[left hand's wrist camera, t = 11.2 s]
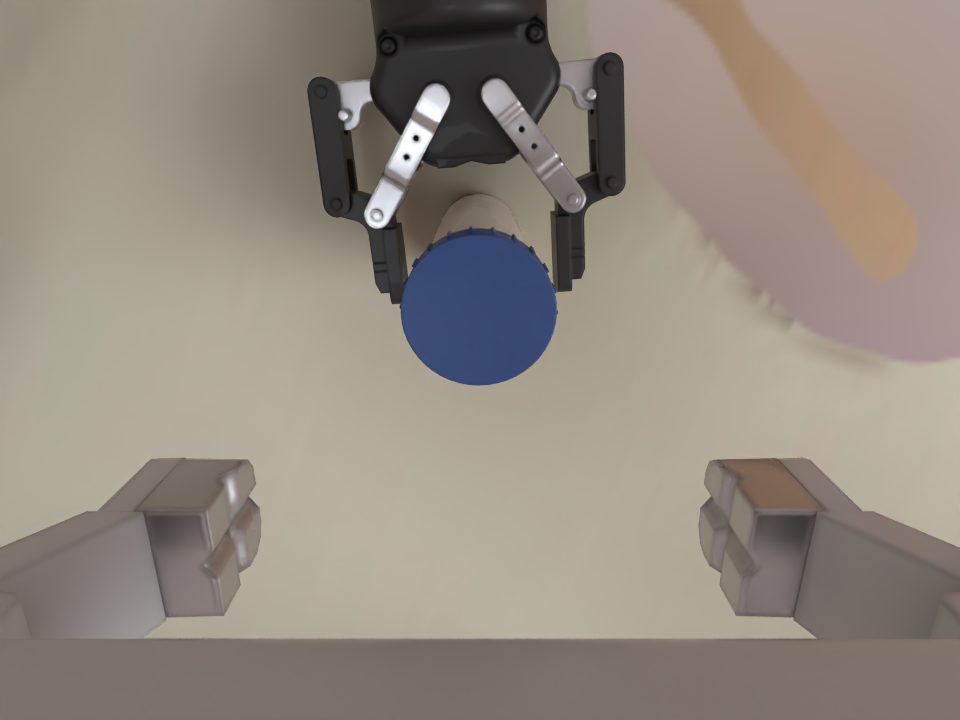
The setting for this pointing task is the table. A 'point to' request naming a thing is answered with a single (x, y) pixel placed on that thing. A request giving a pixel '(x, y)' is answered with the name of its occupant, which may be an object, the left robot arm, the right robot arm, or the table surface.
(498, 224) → the jar
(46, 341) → the table surface
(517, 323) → the lid
